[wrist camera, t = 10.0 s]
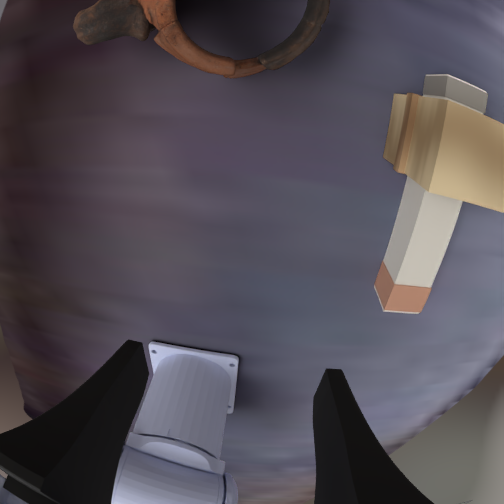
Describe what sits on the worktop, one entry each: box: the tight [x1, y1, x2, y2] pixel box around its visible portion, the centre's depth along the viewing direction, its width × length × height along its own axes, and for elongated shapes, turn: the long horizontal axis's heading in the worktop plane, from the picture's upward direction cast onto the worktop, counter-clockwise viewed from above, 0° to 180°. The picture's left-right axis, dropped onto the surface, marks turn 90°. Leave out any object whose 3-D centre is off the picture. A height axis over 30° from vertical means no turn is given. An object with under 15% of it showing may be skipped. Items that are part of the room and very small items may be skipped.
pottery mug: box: [73, 0, 330, 78], centre depth 11 cm, size 12×10×8 cm
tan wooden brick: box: [383, 93, 504, 213], centre depth 13 cm, size 4×7×6 cm, turn 85°
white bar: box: [374, 74, 488, 314], centre depth 16 cm, size 15×3×3 cm, turn 175°
